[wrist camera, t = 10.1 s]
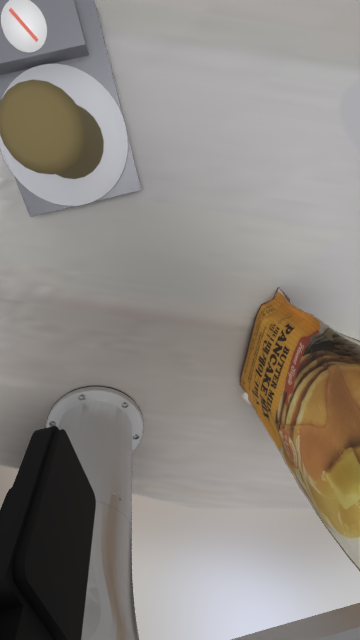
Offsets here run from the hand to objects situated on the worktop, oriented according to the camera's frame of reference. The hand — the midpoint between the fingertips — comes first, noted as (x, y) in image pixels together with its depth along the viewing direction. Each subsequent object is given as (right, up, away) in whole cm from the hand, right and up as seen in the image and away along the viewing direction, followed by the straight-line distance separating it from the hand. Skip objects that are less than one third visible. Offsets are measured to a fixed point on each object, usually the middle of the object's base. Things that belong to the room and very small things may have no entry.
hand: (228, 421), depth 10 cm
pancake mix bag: (+10, 0, +35) cm, 37 cm away
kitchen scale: (-12, +22, +22) cm, 34 cm away
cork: (-11, +19, +20) cm, 30 cm away
